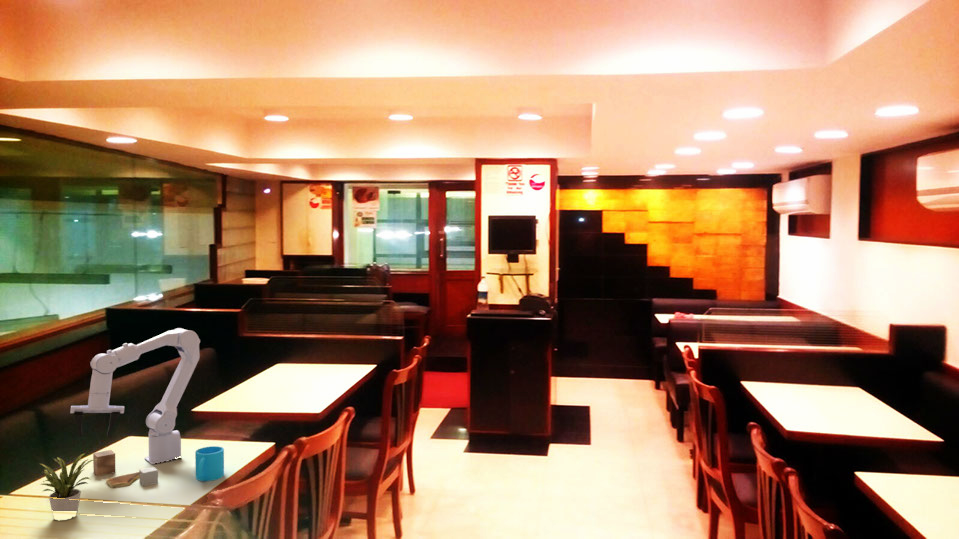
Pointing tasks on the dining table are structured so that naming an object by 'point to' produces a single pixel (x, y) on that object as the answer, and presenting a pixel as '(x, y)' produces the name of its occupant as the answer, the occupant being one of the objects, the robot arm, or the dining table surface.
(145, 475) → the light-grey block
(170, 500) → the dining table surface
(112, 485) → the shard
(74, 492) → the house plant
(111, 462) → the walnut block
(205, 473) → the mug
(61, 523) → the dining table surface
